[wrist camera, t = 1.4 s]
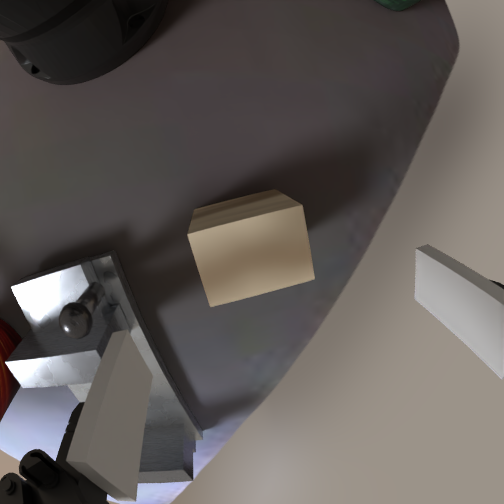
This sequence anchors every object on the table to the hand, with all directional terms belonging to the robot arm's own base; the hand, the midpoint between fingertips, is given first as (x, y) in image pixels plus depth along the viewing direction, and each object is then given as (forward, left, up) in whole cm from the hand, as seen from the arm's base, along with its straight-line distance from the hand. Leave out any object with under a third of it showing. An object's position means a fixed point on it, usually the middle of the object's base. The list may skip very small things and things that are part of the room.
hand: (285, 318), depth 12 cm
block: (0, 0, -15) cm, 15 cm away
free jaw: (+2, -18, -13) cm, 22 cm away
